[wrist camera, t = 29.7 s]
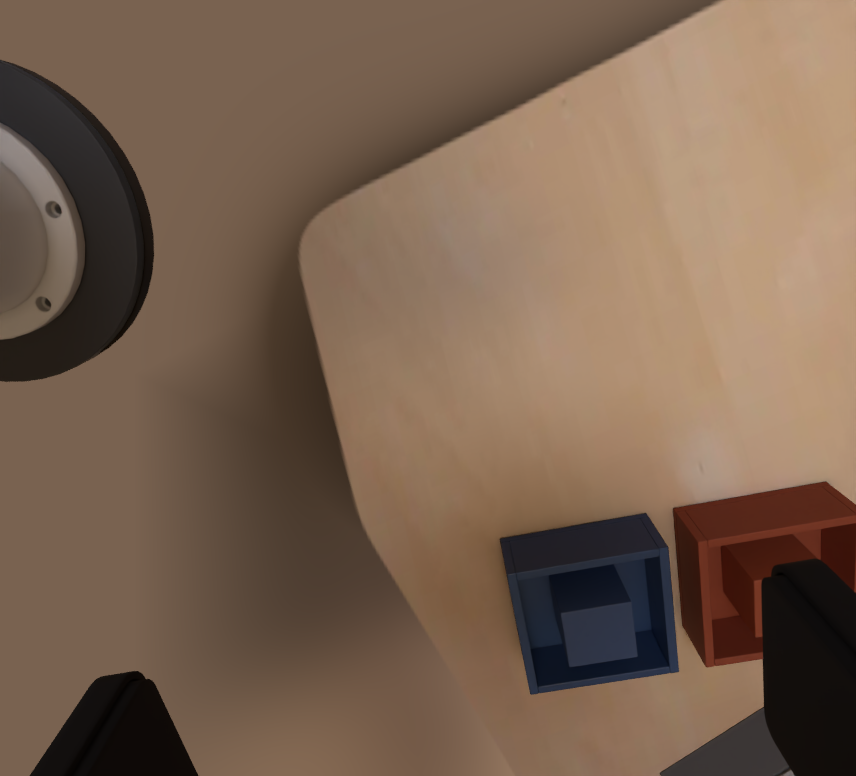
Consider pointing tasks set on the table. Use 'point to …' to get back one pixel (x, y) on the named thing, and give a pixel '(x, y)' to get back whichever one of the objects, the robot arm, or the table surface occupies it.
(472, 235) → the table surface
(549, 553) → the blue bin
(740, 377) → the table surface
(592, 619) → the blue block
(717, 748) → the alarm clock
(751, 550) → the terracotta block
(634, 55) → the table surface
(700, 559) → the terracotta bin
